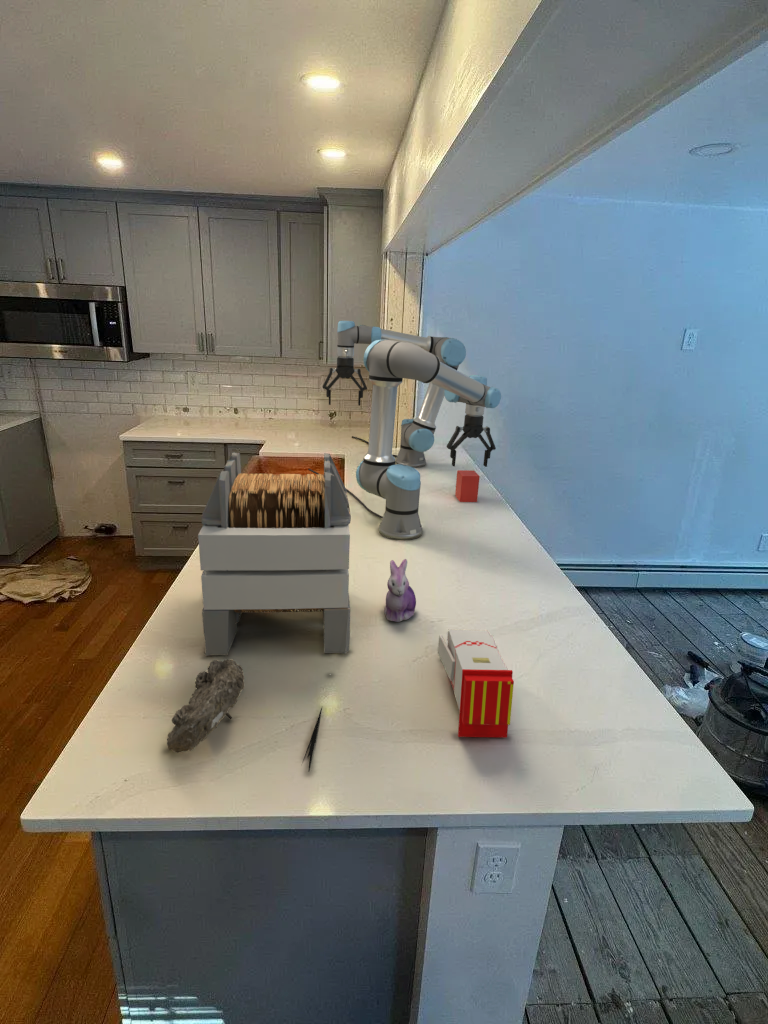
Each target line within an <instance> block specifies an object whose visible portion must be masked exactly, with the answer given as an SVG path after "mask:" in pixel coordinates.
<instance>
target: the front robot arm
mask: <svg viewBox="0 0 768 1024" xmlns="http://www.w3.org/2000/svg"><path fill="white" fill-rule="evenodd" d="M362 360H363V365H364V367H365V369H366V371H367V372H368V381H369V382H370V383H371V384H372V391H371V406H370V418H369V420H370V421H369V432H368V442H369V444H368V448H367V453H365V454H364V455H363V457H362V461H361V462H360V463H359V465H357V467H356V471H355V480H356V483H357V484H358V486H359V488H361V489H362V490H364V491H365V492H367V493H369V494H372V495H375V496H377V497H379V498H381V499H384V500H385V504H384V505H385V507H384V508H385V509H384V513H383V515H380V514H379V513H376V512H375V511H373V510H371V509H370V508H368V507H367V505H365V503H364V502H363V501H361V499H360V498H358V497H357V496H356V495H355V494H354V493H353V492H352V491H350V490H349V489H347V488H346V490H347V494H349V495H351V496H352V497H353V498H354V499H355V500H356V501H357V502H359V503H360V504H361V506H363V508H364V509H365V510H367V511H368V512H369V513H370V514H372V515H373V516H376V517H377V518H379V519H381V522H379V525H378V533H379V534H380V535H381V536H382V537H385V538H387V539H389V540H395V541H410V540H415V539H418V538H420V537H421V536H422V535H423V525H422V524H421V518H420V515H419V507H420V506H419V505H420V496H421V495H420V494H421V482H422V481H421V473H420V471H419V470H417V468H416V467H410V466H407V465H406V466H405V465H401V464H396V457H394V456H393V455H394V454H393V446H394V432H395V422H396V421H395V420H396V410H397V409H396V408H397V398H398V388H399V386H400V385H401V384H403V379H405V380H406V379H408V380H413V381H418V382H421V383H423V384H429V383H432V384H434V385H437V386H439V387H441V388H443V389H445V391H444V399H445V400H446V401H447V402H449V403H455V404H457V403H461V404H465V411H464V413H465V415H464V422H463V426H459V425H456V426H455V430H454V432H453V434H452V436H451V437H450V439H449V441H448V443H447V444H446V446H445V447H446V449H448V450H450V451H449V453H450V454H449V457H450V458H451V466H452V467H456V462H457V461H456V459H457V450H456V449H458V447H459V446H460V445H461V444H462V443H463V442H464V441H465V440H466V439H467V438H468V439H477V438H478V439H479V440H480V442H481V443H482V445H483V446H484V447H485V448H486V449H485V450H484V455H483V463H482V464H483V465H482V466H483V467H485V468H487V467H488V460H489V459H491V453H492V451H495V450H496V445H495V442H494V439H493V437H492V435H491V434H492V433H491V428H490V427H489V426H485V427H484V414H485V408H486V409H495V408H497V407H498V406H499V404H501V399H502V393H501V391H500V389H499V388H497V387H494V386H488V377H487V376H485V375H479V374H478V375H476V374H472V375H466V374H464V373H463V372H461V371H459V370H458V369H457V370H455V369H453V368H451V367H449V366H447V365H446V364H444V363H442V362H440V360H439V358H438V357H437V356H435V355H433V354H431V353H430V352H428V351H426V350H424V349H423V348H421V347H419V346H417V345H415V344H412V343H409V342H402V341H394V340H387V339H383V340H376V341H374V342H372V343H371V344H368V346H367V347H366V348H365V351H364V354H363V359H362ZM462 431H463V433H462V434H461V435H460V433H461V432H462ZM483 432H484V434H485V435H486V437H487V440H488V443H487V441H486V439H485V438H484V437H483V435H482V433H483ZM459 435H460V437H459ZM458 437H459V438H458ZM457 438H458V439H457ZM307 470H308V471H309V472H310V473H311V472H312V474H315V475H316V474H317V475H318V474H319V475H320V474H321V473H319V472H317V471H315V470H313V469H311V468H308V469H307Z"/></svg>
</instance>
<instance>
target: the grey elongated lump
mask: <svg viewBox="0 0 768 1024" xmlns="http://www.w3.org/2000/svg"><path fill="white" fill-rule="evenodd" d="M243 670H244V669H243V667H242V665H240V664H237V662H236V661H235V660H234V659H232V658H231V659H227V658H226V659H224V660H223V661H222V660H217V659H212V660H211V661H210V663H209V665H208V666H207V671H201V672H199V673H198V674H197V675H196V676H195V680H194V684H195V685H194V687H195V689H194V690H193V693H192V694H191V697H190V698H189V700H188V704H184V705H182V706H181V707H180V709H177V710H176V711H175V713H174V715H173V716H172V718H171V723H172V724H173V727H172V730H171V731H170V732H168V734H167V738H166V741H167V742H166V745H167V749H168V750H169V751H173V752H174V753H176V754H178V753H182V752H188V751H189V752H192V751H193V750H195V748H196V747H197V746H199V744H200V743H201V742H203V741H204V740H205V739H206V738H207V737H208V736H209V735H210V734H211V733H212V732H214V730H215V729H217V727H218V726H219V724H220V722H221V721H222V720H223V719H224V718H225V716H226V717H227V719H229V720H233V717H232V715H230V714H229V710H230V709H231V708H234V706H235V704H236V703H237V702H238V699H239V697H240V695H241V693H242V691H243V690H245V689H244V688H245V675H244V671H243Z"/></svg>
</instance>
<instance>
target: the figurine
mask: <svg viewBox="0 0 768 1024" xmlns="http://www.w3.org/2000/svg"><path fill="white" fill-rule="evenodd" d="M407 567H408V559H406V558H404V559H403V560H402V561H401V563H400V565H399V566H398V565H397V563H396V562H395V561H394V560H393V559H391V560H390V561H389V570H390V576H389V578H388V579H387V589H388V591H387V592H386V594H385V595H386V596H385V607H384V615H385V616H386V620H387V621H391V622H395V623H400V622H402V621H406V620H409V619H410V618H411V617H413V616H414V615H415V610H416V606H417V597H416V593H415V591H414V590H413V587H411V586H410V582H409V579H408V577H407V574H406V571H407Z"/></svg>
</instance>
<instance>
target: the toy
mask: <svg viewBox="0 0 768 1024" xmlns="http://www.w3.org/2000/svg"><path fill="white" fill-rule="evenodd" d="M446 640H447V643H446V641H445V639H444V636H443V635H442V634H439V637H438V646H437V656H438V657H439V659H440V661H441V663H442V666H443V668H444V670H445V672H446V674H447V677H448V679H449V681H450V684H451V687H452V690H453V693H454V697H455V701H456V705H457V708H458V711H459V714H458V715H459V716H458V730H457V731H458V732H457V737H458V738H508V731H509V726H510V725H511V717H512V707H513V697H514V696H513V695H514V684H515V680H514V679H513V673H514V671H513V670H512V669H508V667H507V665H506V662H505V661H504V659H503V658H502V655H501V653H500V651H499V649H498V647H497V643H496V639H495V637H494V635H493V634H491V632H490V631H489V629H467V628H466V629H465V628H463V629H461V628H460V629H459V628H448V630H447V639H446Z"/></svg>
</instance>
